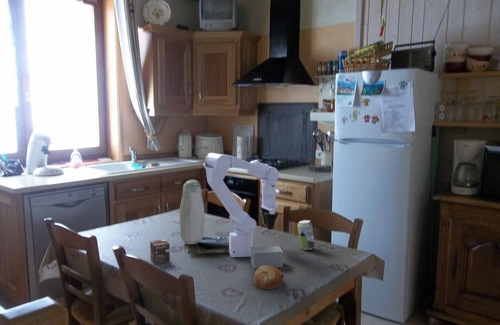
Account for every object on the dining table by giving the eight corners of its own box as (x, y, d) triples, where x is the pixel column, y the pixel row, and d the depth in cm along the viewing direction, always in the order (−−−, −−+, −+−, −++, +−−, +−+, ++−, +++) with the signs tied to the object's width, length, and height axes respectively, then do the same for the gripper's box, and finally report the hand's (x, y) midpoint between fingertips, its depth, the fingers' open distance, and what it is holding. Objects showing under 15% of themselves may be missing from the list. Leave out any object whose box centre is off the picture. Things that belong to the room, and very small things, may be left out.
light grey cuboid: (253, 268, 150) (254, 253, 149) (250, 262, 156) (250, 247, 155) (282, 267, 152) (283, 251, 151) (278, 260, 158) (279, 245, 157)
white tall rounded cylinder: (202, 247, 171) (202, 182, 168) (178, 247, 171) (177, 182, 168) (205, 240, 181) (205, 178, 177) (182, 239, 181) (181, 178, 177)
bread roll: (256, 287, 143) (247, 267, 141) (283, 274, 143) (273, 255, 142) (260, 300, 133) (249, 279, 132) (288, 287, 133) (278, 266, 132)
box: (154, 264, 152) (153, 246, 151) (150, 259, 158) (149, 241, 157) (170, 262, 155) (169, 243, 154) (165, 257, 160) (165, 239, 159)
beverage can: (314, 251, 168) (315, 223, 166) (296, 250, 170) (297, 222, 168) (314, 246, 174) (315, 219, 173) (297, 245, 176) (298, 218, 174)
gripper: (282, 198, 163) (282, 231, 164) (274, 191, 177) (274, 221, 179) (265, 199, 161) (264, 232, 163) (258, 191, 176) (258, 222, 177)
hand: (268, 226), depth 171 cm, fingers open, 7 cm apart
